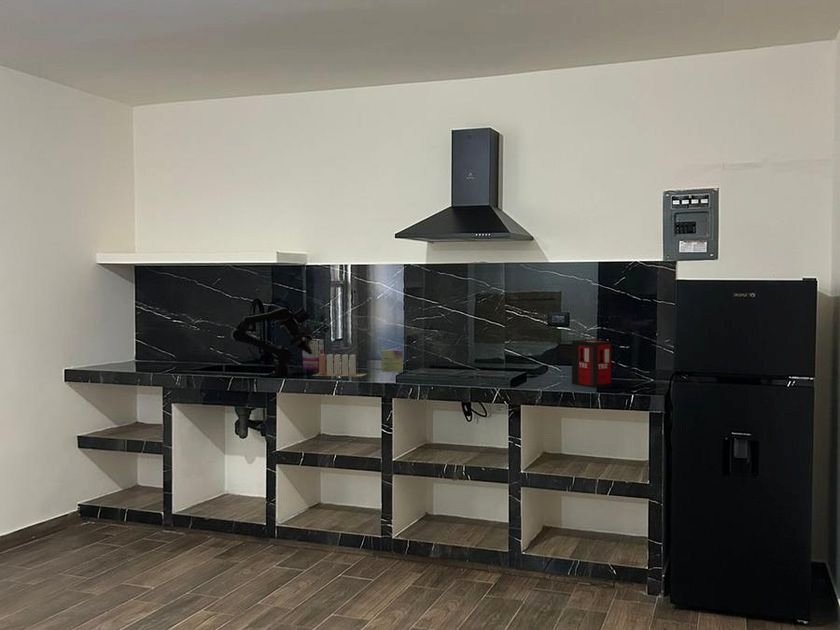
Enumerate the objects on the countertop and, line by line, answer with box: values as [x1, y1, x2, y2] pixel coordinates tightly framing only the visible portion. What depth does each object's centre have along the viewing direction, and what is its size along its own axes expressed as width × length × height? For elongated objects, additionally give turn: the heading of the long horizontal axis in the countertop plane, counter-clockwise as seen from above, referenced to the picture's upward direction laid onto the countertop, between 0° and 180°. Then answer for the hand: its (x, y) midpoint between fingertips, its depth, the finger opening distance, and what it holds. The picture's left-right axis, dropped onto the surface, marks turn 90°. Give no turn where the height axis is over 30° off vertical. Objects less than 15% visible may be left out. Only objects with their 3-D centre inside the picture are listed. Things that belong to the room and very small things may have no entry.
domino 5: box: [348, 354, 357, 377], centre depth 410 cm, size 2×5×10 cm, turn 167°
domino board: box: [311, 372, 367, 378], centre depth 412 cm, size 26×10×1 cm, turn 77°
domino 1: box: [318, 353, 327, 375], centre depth 414 cm, size 2×5×10 cm, turn 168°
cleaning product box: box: [571, 339, 613, 389], centre depth 372 cm, size 16×9×20 cm, turn 30°
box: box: [380, 349, 403, 374], centre depth 426 cm, size 10×6×12 cm, turn 100°
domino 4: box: [341, 353, 349, 377], centre depth 411 cm, size 2×5×10 cm, turn 167°
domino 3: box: [333, 353, 342, 375], centre depth 412 cm, size 2×5×10 cm, turn 167°
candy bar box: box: [301, 338, 325, 371], centre depth 444 cm, size 11×5×16 cm, turn 62°
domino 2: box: [325, 353, 334, 375], centre depth 413 cm, size 2×5×10 cm, turn 167°
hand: (311, 353), depth 414 cm, fingers closed
